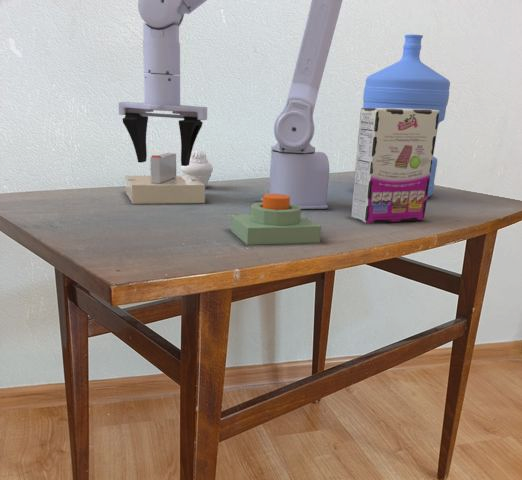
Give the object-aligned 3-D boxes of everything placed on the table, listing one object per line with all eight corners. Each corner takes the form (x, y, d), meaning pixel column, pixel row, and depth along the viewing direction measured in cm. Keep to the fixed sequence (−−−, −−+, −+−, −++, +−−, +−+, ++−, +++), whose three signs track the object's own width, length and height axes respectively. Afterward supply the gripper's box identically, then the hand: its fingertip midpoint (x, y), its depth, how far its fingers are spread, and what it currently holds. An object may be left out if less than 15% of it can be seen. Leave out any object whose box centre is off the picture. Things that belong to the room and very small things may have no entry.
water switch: (298, 229, 84) (300, 200, 83) (319, 242, 78) (322, 212, 76) (230, 230, 82) (231, 201, 80) (247, 245, 75) (248, 213, 73)
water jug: (337, 191, 117) (353, 31, 105) (378, 184, 128) (396, 39, 116) (408, 203, 108) (434, 30, 96) (445, 195, 119) (472, 38, 107)
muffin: (174, 187, 112) (173, 148, 109) (191, 183, 117) (191, 146, 114) (202, 191, 110) (202, 151, 107) (218, 187, 115) (219, 149, 112)
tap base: (192, 191, 109) (192, 174, 107) (207, 204, 98) (207, 184, 97) (124, 192, 105) (123, 173, 104) (132, 205, 94) (131, 185, 93)
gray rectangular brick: (167, 176, 104) (167, 151, 102) (176, 177, 104) (176, 151, 102) (150, 182, 97) (150, 155, 95) (160, 183, 97) (159, 156, 95)
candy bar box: (405, 214, 98) (421, 108, 91) (424, 221, 94) (442, 110, 87) (347, 217, 94) (359, 106, 87) (365, 224, 90) (378, 107, 83)
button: (283, 206, 80) (284, 193, 79) (293, 212, 77) (294, 198, 76) (258, 206, 79) (259, 193, 78) (267, 212, 76) (267, 198, 75)
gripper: (108, 71, 91) (113, 162, 97) (198, 76, 89) (197, 169, 94) (127, 72, 98) (130, 158, 103) (211, 77, 95) (210, 164, 101)
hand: (163, 163), depth 99 cm, fingers open, 7 cm apart
